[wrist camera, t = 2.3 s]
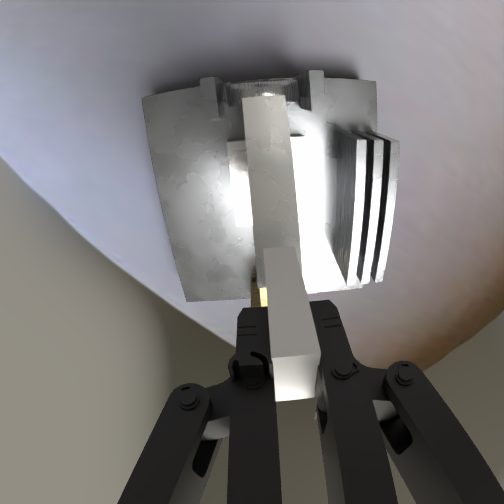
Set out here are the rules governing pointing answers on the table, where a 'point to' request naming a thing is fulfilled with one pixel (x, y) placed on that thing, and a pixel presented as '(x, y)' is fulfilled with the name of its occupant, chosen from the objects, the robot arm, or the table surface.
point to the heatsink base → (306, 179)
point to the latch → (258, 296)
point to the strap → (269, 165)
